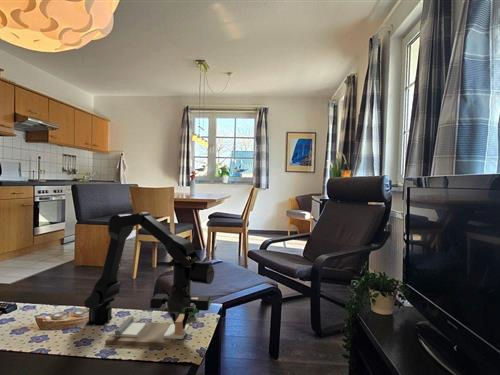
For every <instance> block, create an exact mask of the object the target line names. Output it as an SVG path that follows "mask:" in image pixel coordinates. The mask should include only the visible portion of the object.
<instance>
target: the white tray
mask: <svg viewBox="0 0 500 375" xmlns="http://www.w3.org/2000/svg"><path fill="white" fill-rule="evenodd" d="M134 319H135V317H134V316H129V317H128V318H126V319H125V320H124V321H125V322H124V321H123V322H122V323H121V324H120V325H119V326H118V327H117V328H116V329H115V330H114V331H115V332H114V331H113V332H114V333H113V332H112V333H113V336H120V337H138V336H139V335H140V334H141V333H142V331H143V330H144V329H145V328H146V327H147V323H132V322H135V321H134Z"/></svg>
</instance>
